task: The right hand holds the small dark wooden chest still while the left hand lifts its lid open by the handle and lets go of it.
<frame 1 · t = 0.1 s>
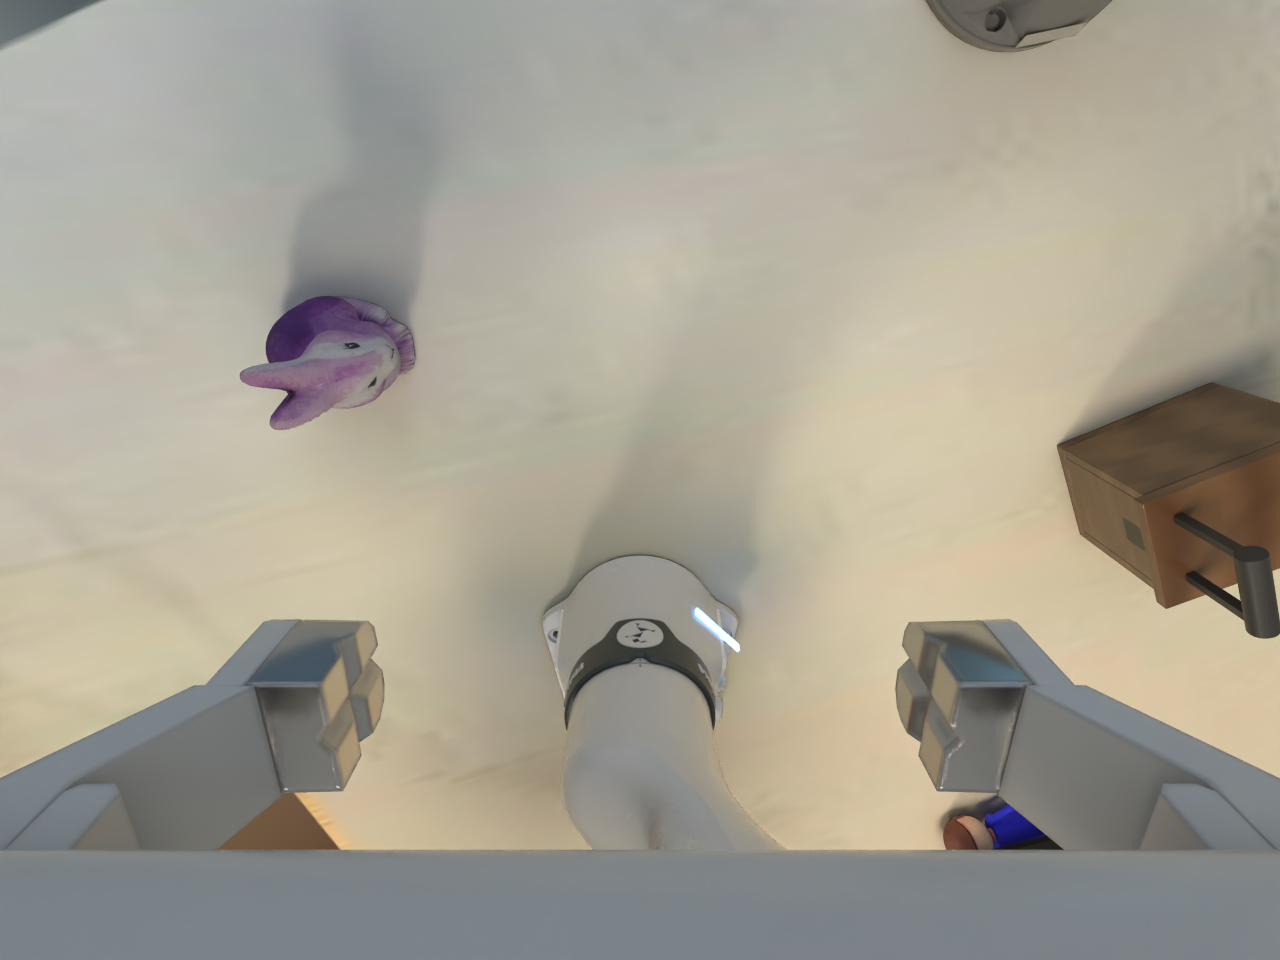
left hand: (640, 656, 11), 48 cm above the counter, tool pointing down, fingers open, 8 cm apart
chest: (1143, 461, 60), on the counter
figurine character: (1004, 810, 76), on the counter
figurine: (361, 340, 56), on the counter
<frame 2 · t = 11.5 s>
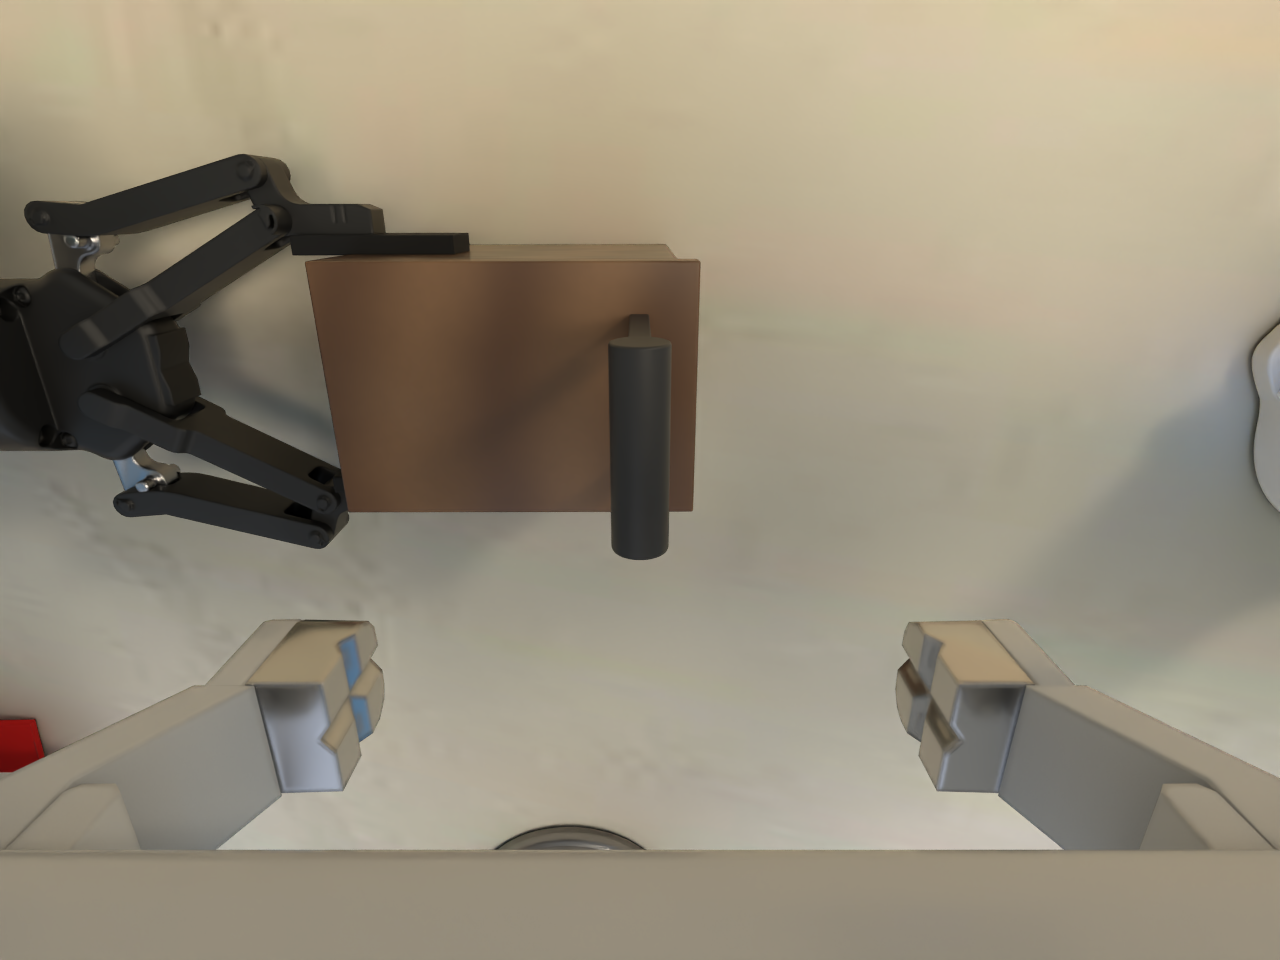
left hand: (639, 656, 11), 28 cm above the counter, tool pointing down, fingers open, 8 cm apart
right hand: (472, 366, 30), fingers closed on chest, 10 cm apart
chest: (543, 338, 37), on the counter, touching right hand
lid: (496, 418, 23), point 15 cm above the counter, hinge at 0.0°
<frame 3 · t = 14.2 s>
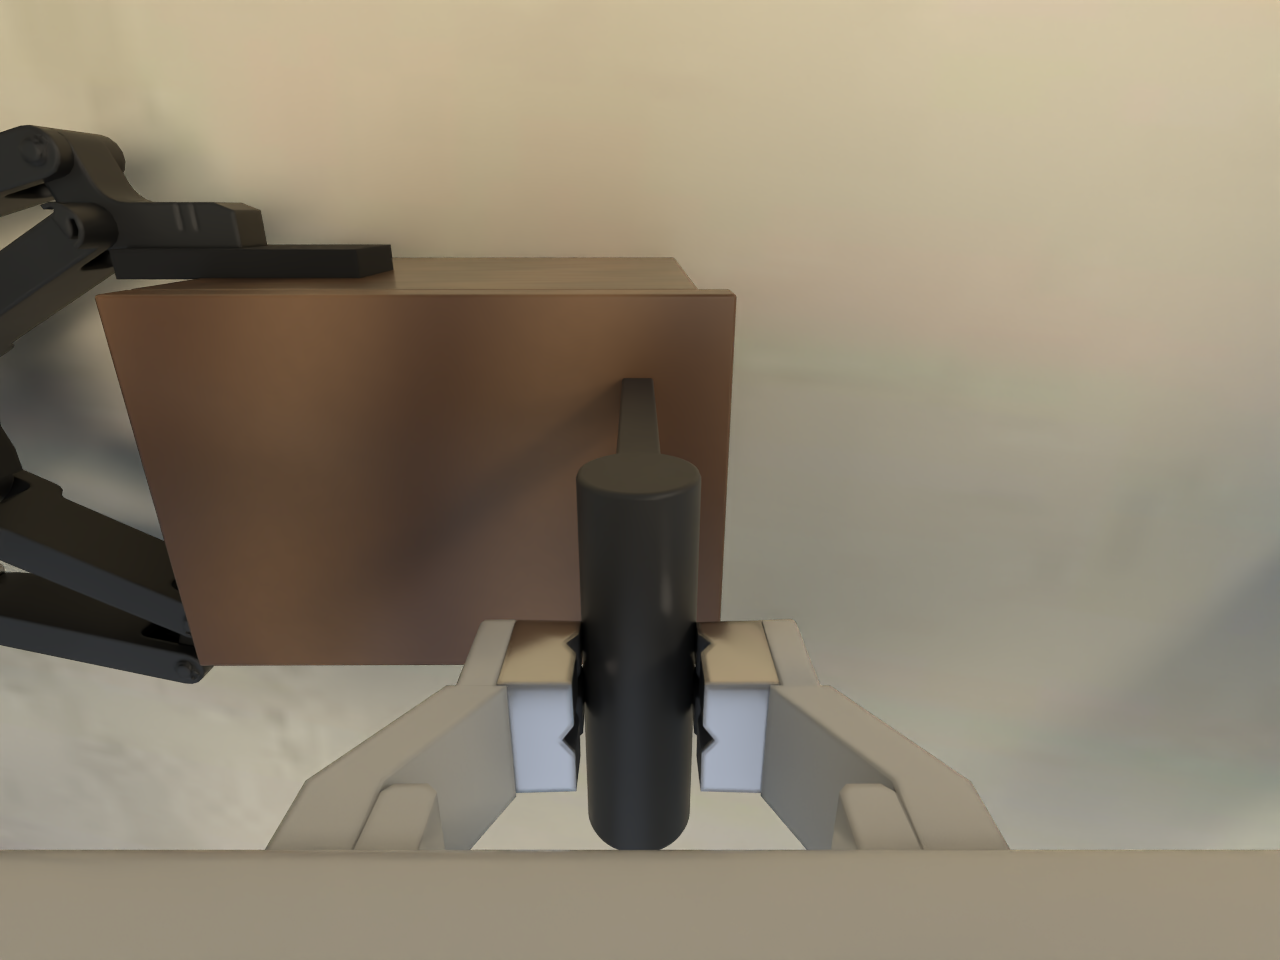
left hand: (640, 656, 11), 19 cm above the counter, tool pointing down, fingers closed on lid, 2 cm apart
chest: (511, 382, 28), on the counter, touching right hand
lid: (398, 561, 14), point 15 cm above the counter, hinge at -0.1°, touching left hand
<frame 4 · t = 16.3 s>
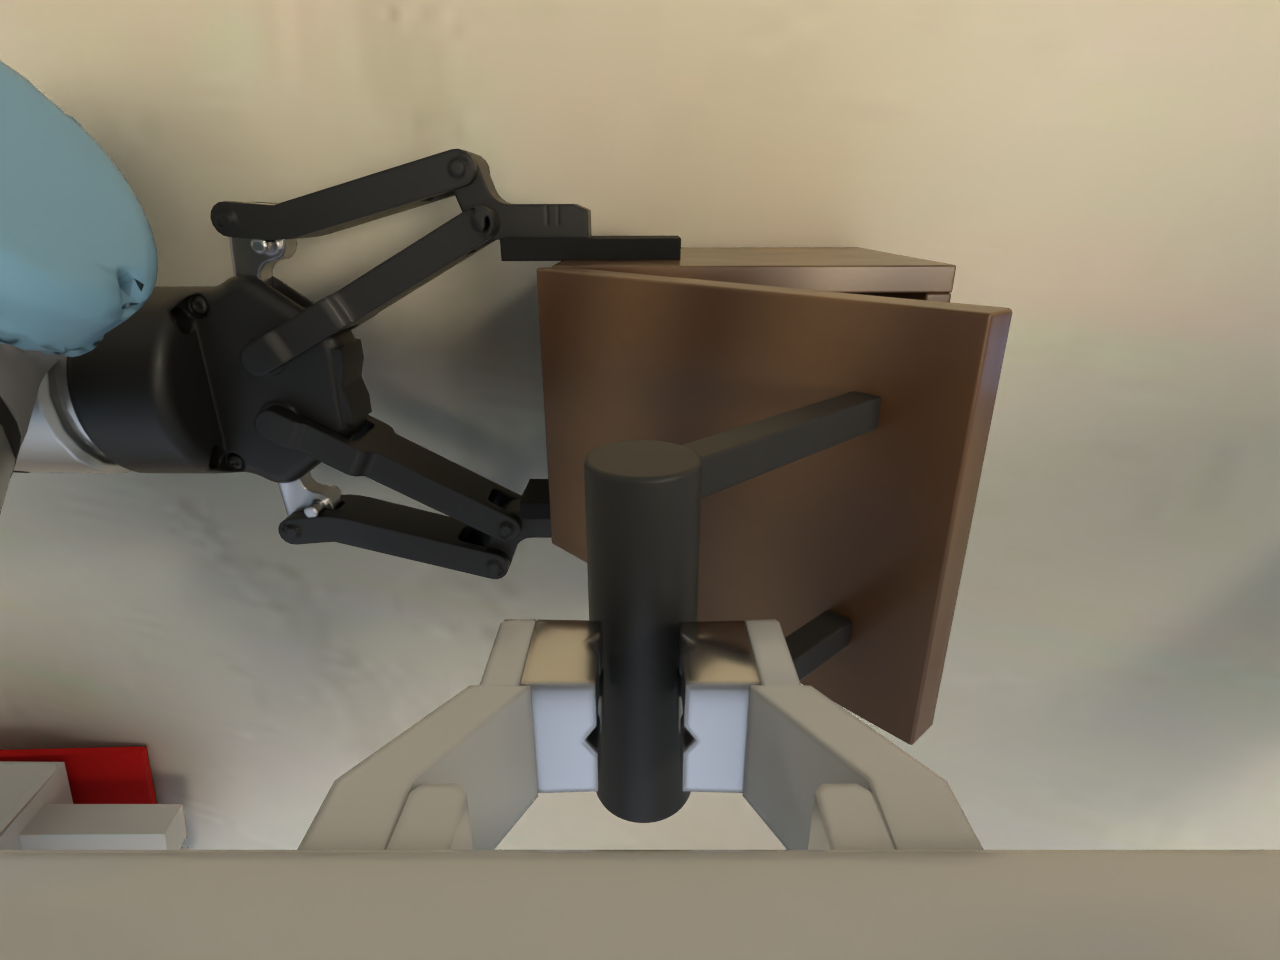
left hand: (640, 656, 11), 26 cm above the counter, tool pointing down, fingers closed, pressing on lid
right hand: (676, 381, 28), fingers closed on chest, 10 cm apart
chest: (716, 349, 34), on the counter, touching right hand
lid: (606, 500, 17), point 19 cm above the counter, hinge at 46.6°, touching left hand
when the right hand's fingers open (7 cm above the counter, at t = 21.1 s): chest stays where it is, on the counter.
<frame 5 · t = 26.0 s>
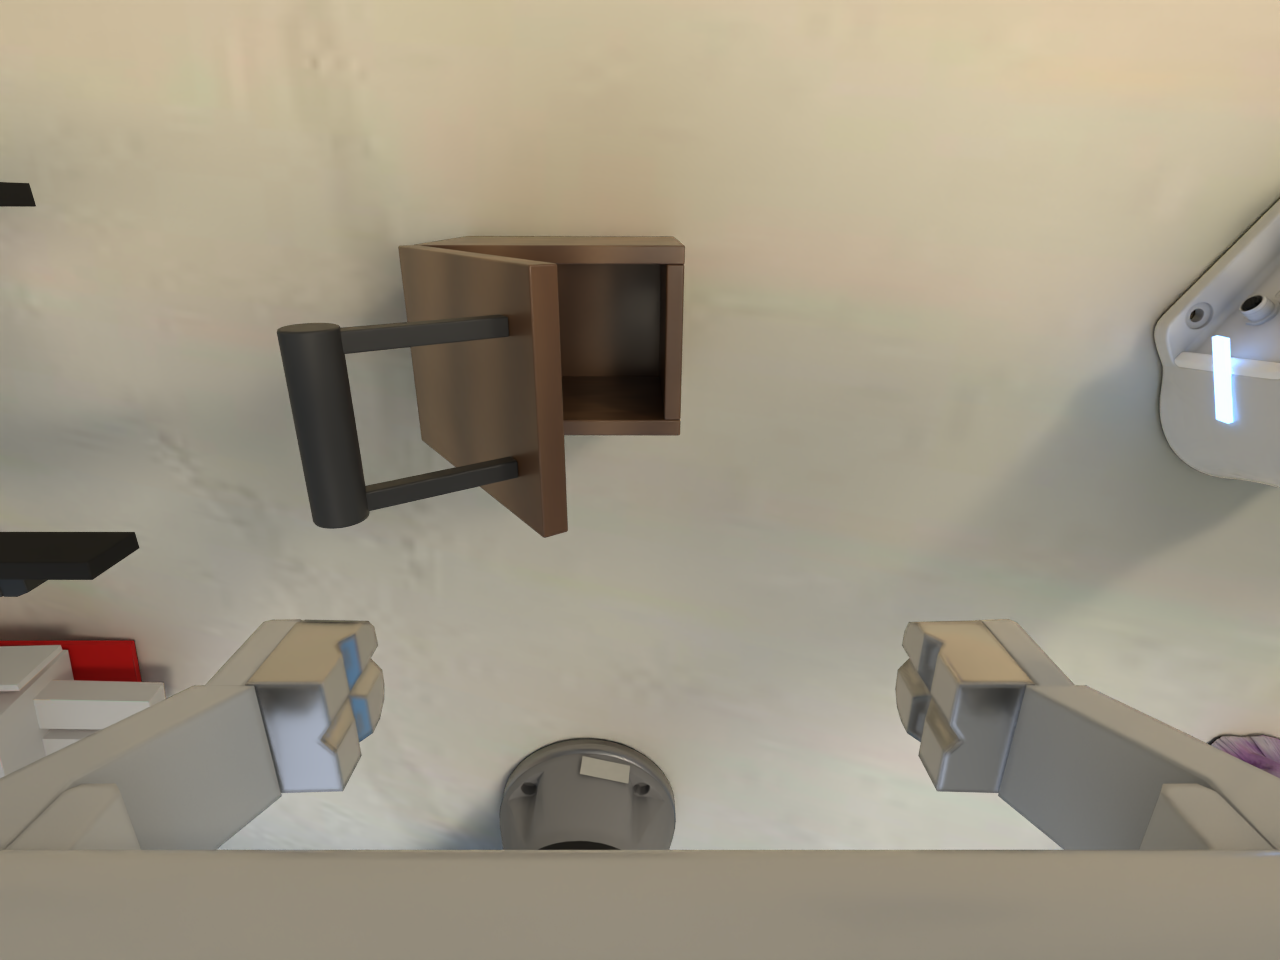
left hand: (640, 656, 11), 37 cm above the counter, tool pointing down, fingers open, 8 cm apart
chest: (572, 313, 45), on the counter
toy: (4, 666, 55), on the counter
figurine: (1237, 768, 59), on the counter
lid: (387, 384, 27), point 19 cm above the counter, hinge at 55.4°
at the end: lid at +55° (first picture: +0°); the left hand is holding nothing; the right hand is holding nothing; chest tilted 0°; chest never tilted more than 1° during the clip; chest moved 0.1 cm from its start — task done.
